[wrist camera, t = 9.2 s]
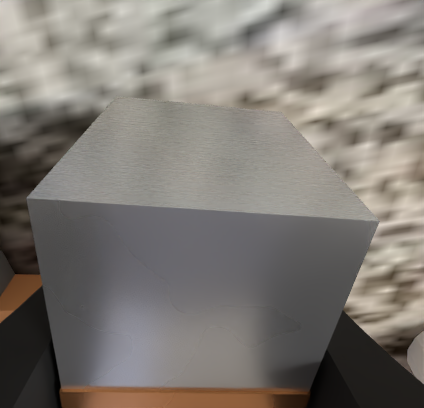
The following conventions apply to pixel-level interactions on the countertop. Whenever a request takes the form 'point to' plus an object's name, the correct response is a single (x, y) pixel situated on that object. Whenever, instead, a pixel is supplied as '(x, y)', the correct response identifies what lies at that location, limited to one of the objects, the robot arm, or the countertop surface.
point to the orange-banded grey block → (194, 258)
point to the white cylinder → (417, 357)
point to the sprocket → (14, 288)
